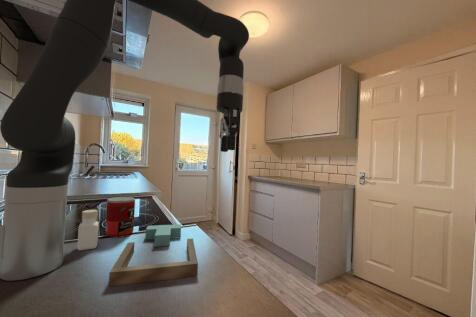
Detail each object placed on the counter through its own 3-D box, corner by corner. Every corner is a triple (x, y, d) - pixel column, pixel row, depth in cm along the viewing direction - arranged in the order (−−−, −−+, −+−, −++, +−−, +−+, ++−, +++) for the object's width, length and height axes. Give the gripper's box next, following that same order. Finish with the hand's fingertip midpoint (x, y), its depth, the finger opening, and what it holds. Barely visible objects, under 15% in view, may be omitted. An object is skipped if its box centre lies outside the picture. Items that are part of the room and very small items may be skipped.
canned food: (121, 239, 60) (123, 201, 60) (98, 236, 61) (100, 199, 62) (138, 231, 67) (140, 197, 68) (118, 228, 69) (120, 196, 69)
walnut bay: (108, 286, 37) (109, 272, 37) (127, 252, 51) (127, 242, 51) (197, 275, 42) (197, 263, 42) (192, 247, 56) (192, 238, 56)
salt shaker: (97, 243, 56) (99, 208, 56) (96, 248, 53) (98, 212, 53) (79, 245, 54) (81, 209, 54) (76, 251, 51) (79, 213, 51)
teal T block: (142, 247, 54) (142, 236, 54) (147, 235, 64) (147, 225, 64) (180, 244, 57) (181, 233, 57) (180, 233, 67) (180, 224, 67)
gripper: (213, 100, 65) (210, 151, 64) (222, 84, 51) (218, 148, 50) (236, 103, 67) (233, 153, 66) (250, 88, 53) (247, 150, 52)
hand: (227, 150), depth 58 cm, fingers open, 8 cm apart
